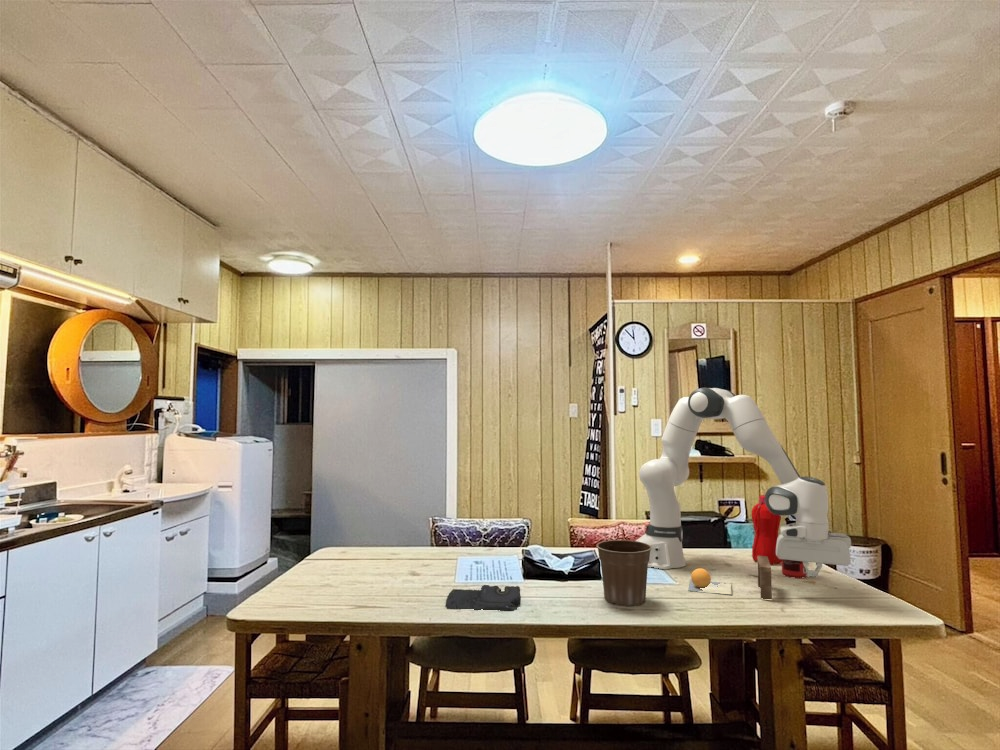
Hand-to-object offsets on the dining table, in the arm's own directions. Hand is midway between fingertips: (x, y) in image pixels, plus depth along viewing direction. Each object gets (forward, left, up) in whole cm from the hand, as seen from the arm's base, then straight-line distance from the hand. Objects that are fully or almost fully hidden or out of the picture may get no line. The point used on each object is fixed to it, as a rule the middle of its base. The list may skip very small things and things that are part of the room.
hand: (812, 576), depth 178 cm
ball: (-32, -1, -3) cm, 32 cm away
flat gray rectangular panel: (-29, 0, -6) cm, 30 cm away
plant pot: (-53, -23, -7) cm, 59 cm away
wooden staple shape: (-13, 0, -6) cm, 15 cm away
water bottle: (-10, +42, -7) cm, 44 cm away
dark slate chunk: (-92, -40, -7) cm, 101 cm away
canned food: (-2, +26, -7) cm, 27 cm away
